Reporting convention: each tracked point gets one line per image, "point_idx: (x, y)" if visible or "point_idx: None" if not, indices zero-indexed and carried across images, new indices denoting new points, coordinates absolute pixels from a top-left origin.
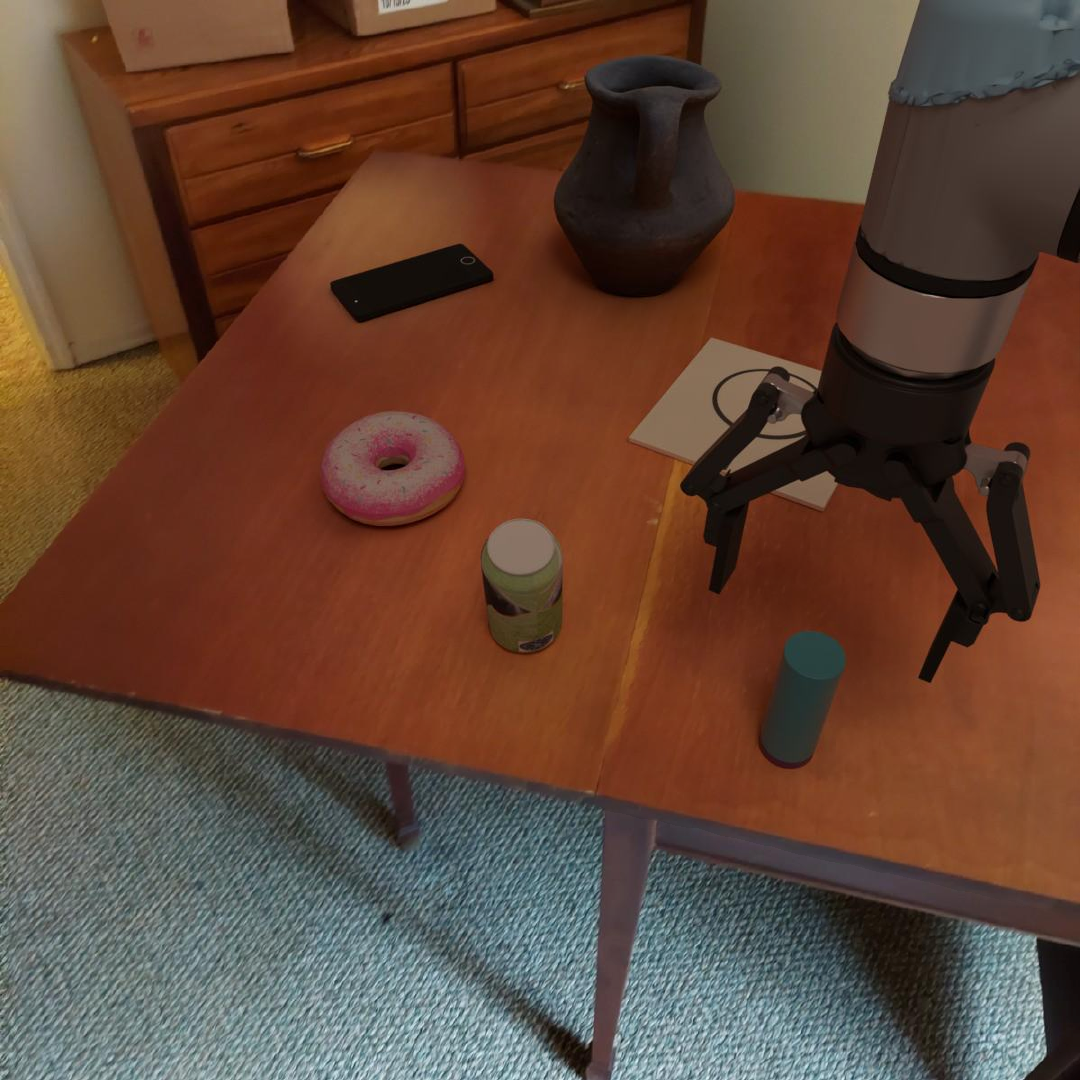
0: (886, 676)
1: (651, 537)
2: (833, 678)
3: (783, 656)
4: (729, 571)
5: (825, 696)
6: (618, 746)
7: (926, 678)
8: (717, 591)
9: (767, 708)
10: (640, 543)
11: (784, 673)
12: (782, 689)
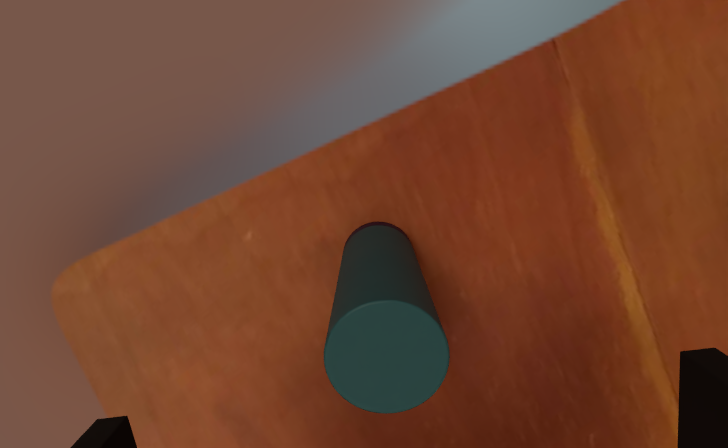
0: (328, 413)
1: None
2: (329, 331)
3: (436, 319)
4: (712, 433)
5: (335, 302)
6: (560, 114)
7: (101, 425)
8: (695, 356)
9: (418, 263)
10: None
11: (417, 294)
12: (407, 275)
